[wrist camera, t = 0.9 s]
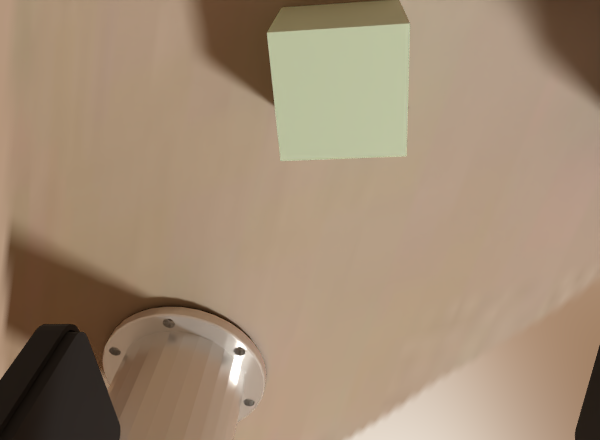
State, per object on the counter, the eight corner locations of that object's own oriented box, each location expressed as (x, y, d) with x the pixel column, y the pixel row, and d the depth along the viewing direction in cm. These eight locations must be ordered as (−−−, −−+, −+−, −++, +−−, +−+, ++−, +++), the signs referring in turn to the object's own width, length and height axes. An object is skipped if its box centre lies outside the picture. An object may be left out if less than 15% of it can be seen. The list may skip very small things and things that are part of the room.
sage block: (396, 112, 30) (406, 156, 25) (291, 116, 31) (280, 161, 26) (398, -2, 27) (410, 23, 22) (281, 7, 28) (266, 32, 23)
